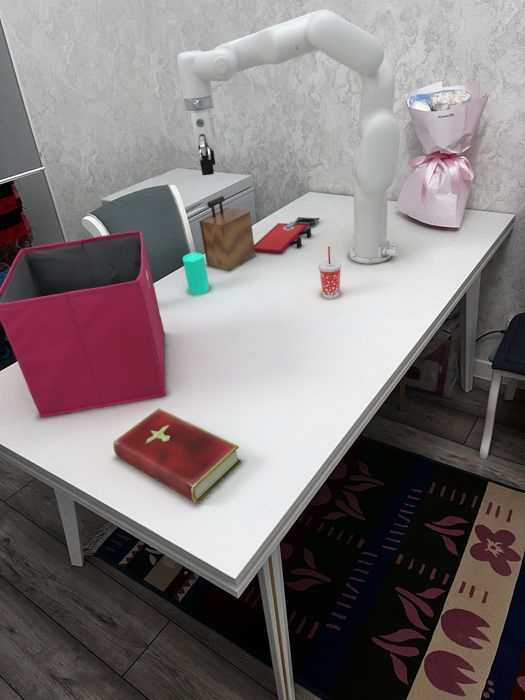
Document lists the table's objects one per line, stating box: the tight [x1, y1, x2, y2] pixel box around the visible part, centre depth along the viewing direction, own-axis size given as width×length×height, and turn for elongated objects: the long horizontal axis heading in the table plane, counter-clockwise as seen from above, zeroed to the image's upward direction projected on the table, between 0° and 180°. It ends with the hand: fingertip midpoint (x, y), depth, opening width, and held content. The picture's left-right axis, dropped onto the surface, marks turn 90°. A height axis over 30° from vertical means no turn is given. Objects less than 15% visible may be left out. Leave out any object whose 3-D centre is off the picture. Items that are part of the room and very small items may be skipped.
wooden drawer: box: [199, 195, 256, 271], centre depth 173 cm, size 20×13×10 cm
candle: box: [182, 251, 210, 295], centre depth 160 cm, size 6×6×12 cm
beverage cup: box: [317, 246, 342, 300], centre depth 148 cm, size 6×6×14 cm
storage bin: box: [0, 230, 167, 419], centre depth 123 cm, size 28×29×28 cm
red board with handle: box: [254, 216, 321, 255], centre depth 190 cm, size 30×3×15 cm
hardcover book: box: [112, 407, 242, 504], centre depth 102 cm, size 12×21×4 cm, turn 52°
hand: (209, 169), depth 156 cm, fingers open, 9 cm apart
